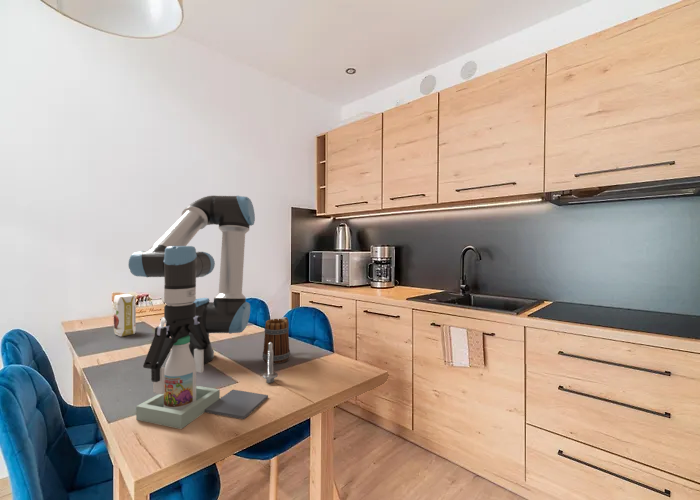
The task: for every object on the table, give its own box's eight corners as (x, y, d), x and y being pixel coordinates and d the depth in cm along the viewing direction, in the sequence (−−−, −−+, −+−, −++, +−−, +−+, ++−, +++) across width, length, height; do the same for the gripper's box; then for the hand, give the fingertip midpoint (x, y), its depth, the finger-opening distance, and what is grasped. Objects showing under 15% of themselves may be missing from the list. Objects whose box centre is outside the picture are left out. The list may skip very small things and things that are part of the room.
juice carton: (130, 330, 160) (130, 293, 160) (137, 333, 155) (137, 295, 154) (112, 334, 154) (112, 295, 153) (119, 337, 149) (119, 297, 148)
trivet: (204, 412, 85) (204, 409, 85) (232, 392, 96) (232, 389, 96) (243, 419, 82) (243, 416, 82) (267, 397, 93) (267, 395, 93)
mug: (283, 365, 118) (283, 325, 117) (257, 362, 120) (257, 323, 119) (298, 351, 133) (299, 315, 133) (275, 349, 135) (275, 314, 135)
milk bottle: (172, 403, 89) (172, 332, 89) (200, 402, 90) (200, 332, 89) (157, 418, 81) (157, 341, 81) (189, 417, 82) (189, 340, 82)
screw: (277, 377, 107) (278, 383, 102) (262, 379, 106) (262, 385, 101) (277, 339, 107) (278, 343, 102) (262, 340, 105) (263, 344, 101)
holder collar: (136, 419, 81) (136, 406, 81) (179, 394, 94) (179, 382, 94) (181, 429, 77) (181, 414, 77) (219, 401, 91) (219, 389, 90)
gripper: (150, 314, 72) (150, 406, 72) (222, 296, 96) (222, 366, 96) (125, 311, 74) (125, 401, 74) (202, 295, 98) (201, 363, 99)
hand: (180, 381), depth 85 cm, fingers open, 13 cm apart
